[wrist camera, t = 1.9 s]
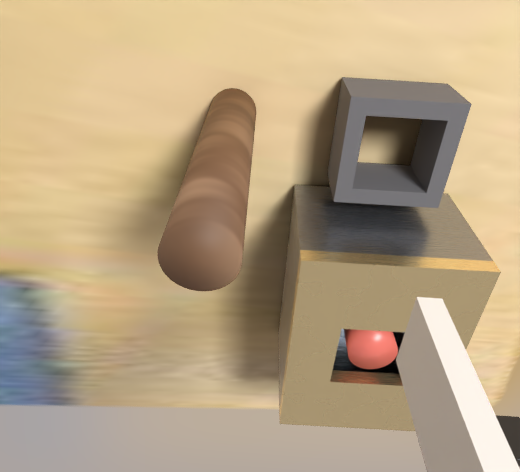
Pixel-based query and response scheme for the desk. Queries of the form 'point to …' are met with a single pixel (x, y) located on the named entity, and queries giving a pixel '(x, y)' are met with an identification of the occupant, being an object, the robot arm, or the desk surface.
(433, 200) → the holder
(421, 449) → the robot arm
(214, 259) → the brown rounded rod
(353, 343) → the pink rubber ball
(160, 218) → the desk surface
